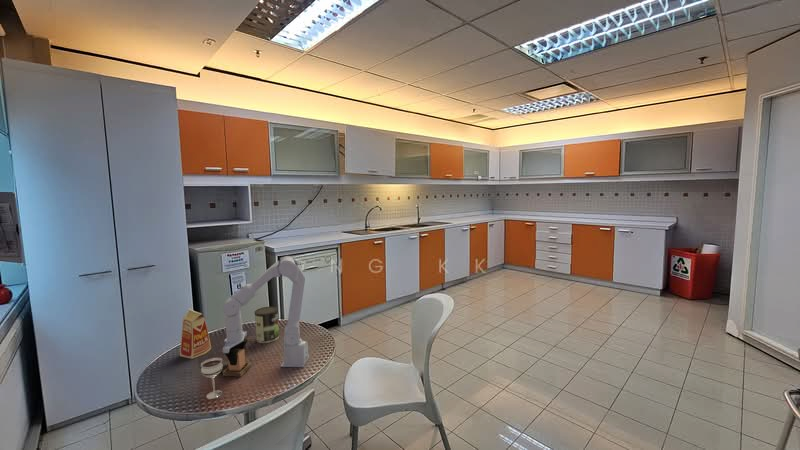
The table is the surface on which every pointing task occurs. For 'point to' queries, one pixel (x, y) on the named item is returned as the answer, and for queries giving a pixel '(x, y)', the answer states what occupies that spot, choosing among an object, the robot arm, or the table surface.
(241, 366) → the block
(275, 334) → the coffee can
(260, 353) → the table surface
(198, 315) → the milk carton
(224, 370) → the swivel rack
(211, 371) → the wineglass
